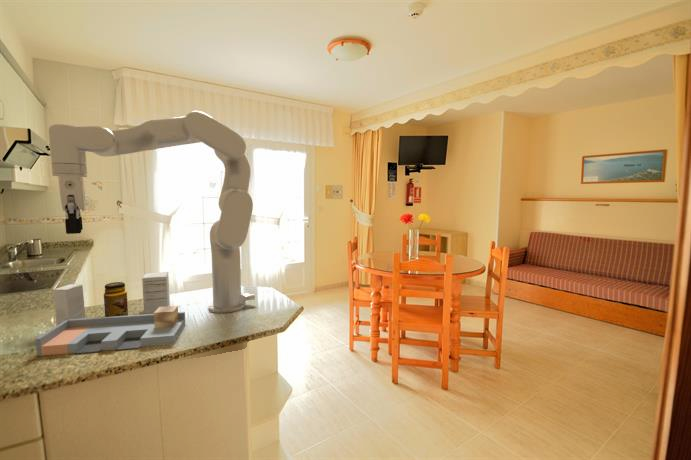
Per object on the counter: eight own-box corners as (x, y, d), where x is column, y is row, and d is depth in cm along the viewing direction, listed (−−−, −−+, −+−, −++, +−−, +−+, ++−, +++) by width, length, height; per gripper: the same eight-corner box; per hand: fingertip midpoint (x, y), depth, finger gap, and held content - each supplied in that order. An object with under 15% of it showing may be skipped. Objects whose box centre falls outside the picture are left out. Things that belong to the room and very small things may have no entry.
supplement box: (146, 308, 117) (145, 273, 115) (170, 305, 120) (168, 271, 118) (143, 315, 110) (141, 277, 109) (168, 312, 113) (166, 276, 111)
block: (178, 320, 99) (177, 305, 99) (174, 326, 94) (173, 311, 94) (160, 321, 98) (159, 306, 98) (154, 328, 93) (153, 312, 93)
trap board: (185, 325, 101) (184, 311, 101) (173, 345, 88) (172, 329, 87) (67, 334, 94) (66, 319, 94) (34, 357, 80) (32, 340, 80)
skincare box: (72, 320, 104) (70, 283, 103) (86, 321, 104) (83, 284, 103) (55, 328, 98) (52, 289, 97) (69, 328, 98) (66, 289, 97)
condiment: (129, 321, 104) (127, 284, 103) (96, 327, 99) (93, 288, 98) (129, 314, 110) (127, 279, 109) (98, 319, 105) (95, 283, 104)
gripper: (86, 170, 87) (90, 234, 89) (87, 173, 101) (91, 228, 103) (48, 168, 83) (54, 235, 85) (55, 172, 97) (60, 230, 99)
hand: (74, 231), depth 94 cm, fingers open, 9 cm apart
